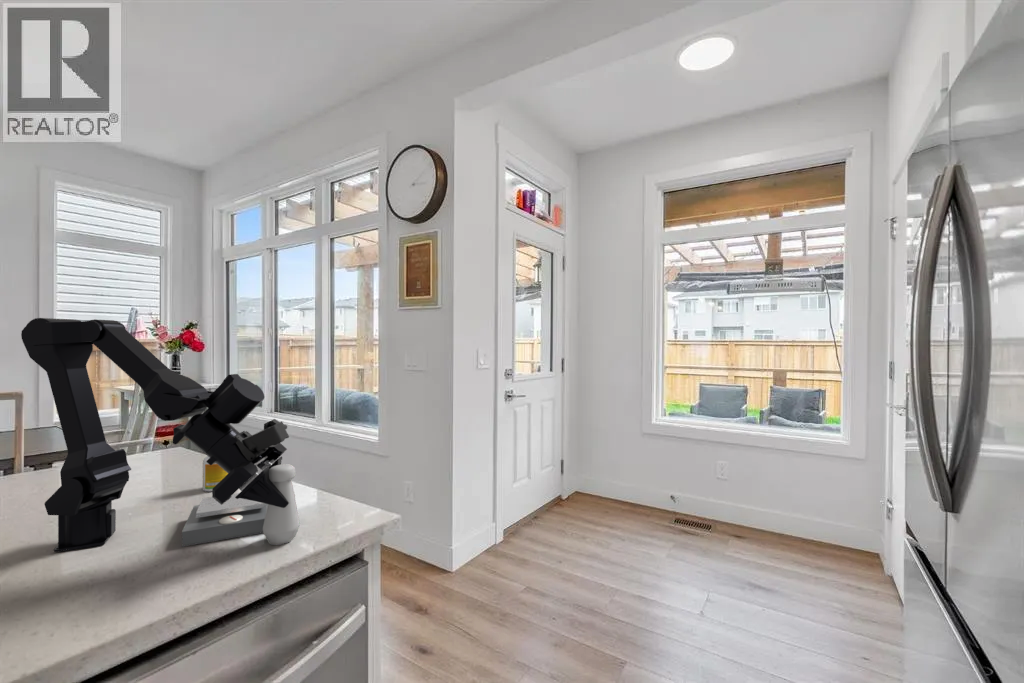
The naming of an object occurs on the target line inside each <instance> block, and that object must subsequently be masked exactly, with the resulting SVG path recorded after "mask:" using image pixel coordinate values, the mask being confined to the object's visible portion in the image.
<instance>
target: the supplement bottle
mask: <svg viewBox="0 0 1024 683" xmlns="http://www.w3.org/2000/svg"><path fill="white" fill-rule="evenodd" d="M209 458H210V457H209V456H207V455H206V457H204V458H203V460H202V490H203V491H205V492H212V489H213V488H214V487H215V486H216V485H217V484H218V483H219V482H220V481H221V480H222V479H223V478H224V477H225V476H226V475H227V474H228V473H227V472H226V471H225V470H223V469H222V468H221V467H220V466H219V465H218V464H217V463H215V464H213V465H210V464H208V463H207V462H206V461H207V460H208V459H209Z"/></svg>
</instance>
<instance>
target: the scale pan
mask: <svg viewBox="0 0 1024 683" xmlns="http://www.w3.org/2000/svg"><path fill="white" fill-rule="evenodd" d="M239 493H240V492H238V493H237V492H236V493H234V494H233V495H231V496H232V497H231V498H230V499H229V500H227V501H226V502H225V503H224V504H222V505H221V504H220V503H219V502H217V501H216V500H215V499H214V498H213V497H212V496H210V497H202V499H201V500H200V503H199V504H198V505H199V507H198V510H197V512H196V518H198V517H205V516H212V515H218V514H225V513H232V512H238V511H245V510H252V509H258V508H265V507H266V504H265V503H261V502H257V501H252V500H247V499H242V498H239V499H236V498H235V497H236V496H237V495H238V494H239Z"/></svg>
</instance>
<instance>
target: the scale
mask: <svg viewBox="0 0 1024 683" xmlns="http://www.w3.org/2000/svg"><path fill="white" fill-rule="evenodd" d="M199 505H200V504H197V505H193V507H192V509H191V511H190V513H189V515H188V518H187V520H186V522H185V524H184V527H183V528H182V531H181V547H188V546H194V545H199V544H207V543H212V542H217V541H223V540H228V539H229V540H230V539H234V538H239V537H240V538H241V537H246V536H252V535H257V534H264V533H263V525H264V520H265V515H266V511H267V506H268V504H266V507H265V508H258V509H252V510H245V511H238V512H232V513H225V514H218V515H212V516H205V517H198V518H196V512H197V510H198V507H199Z"/></svg>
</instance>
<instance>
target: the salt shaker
mask: <svg viewBox="0 0 1024 683" xmlns="http://www.w3.org/2000/svg"><path fill="white" fill-rule="evenodd" d="M295 476H296V467H295V466H293V465H292V464H289V463H288V464H287V463H281V465H276V466H273V467H271V468H270V469H269V479H270V481H271V482H272V483H273V484H274V485H275V486H276V487H277V489H278V490H279V491H280V492H281V493H282V494H283V496H284V497H285V498H286V499H287V501H288V502H289V504H288V505H287V506H286V507H285V508H281V507H277V506H273V505H269V504H268V506H267V511H266V515H265V520H264V525H263V533H262V534H264V536H265V538H266V540H267V542H268V544H269V545H272V546H273V545H274V546H281V545H284V543H285V544H287V543H288V542H289V543H291V542H292V541H293V540H294V539H295V538H296V536H297V533H298V531H299V528H300V524H301V523H300V522H301V521H300V515H299V510H298V506H297V505H298V504H297V500H296V494H295V490H294V484H293V479H294V478H295ZM294 537H295V538H294ZM293 538H294V539H293ZM292 539H293V540H292ZM291 540H292V541H291ZM289 543H288V544H289Z"/></svg>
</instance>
